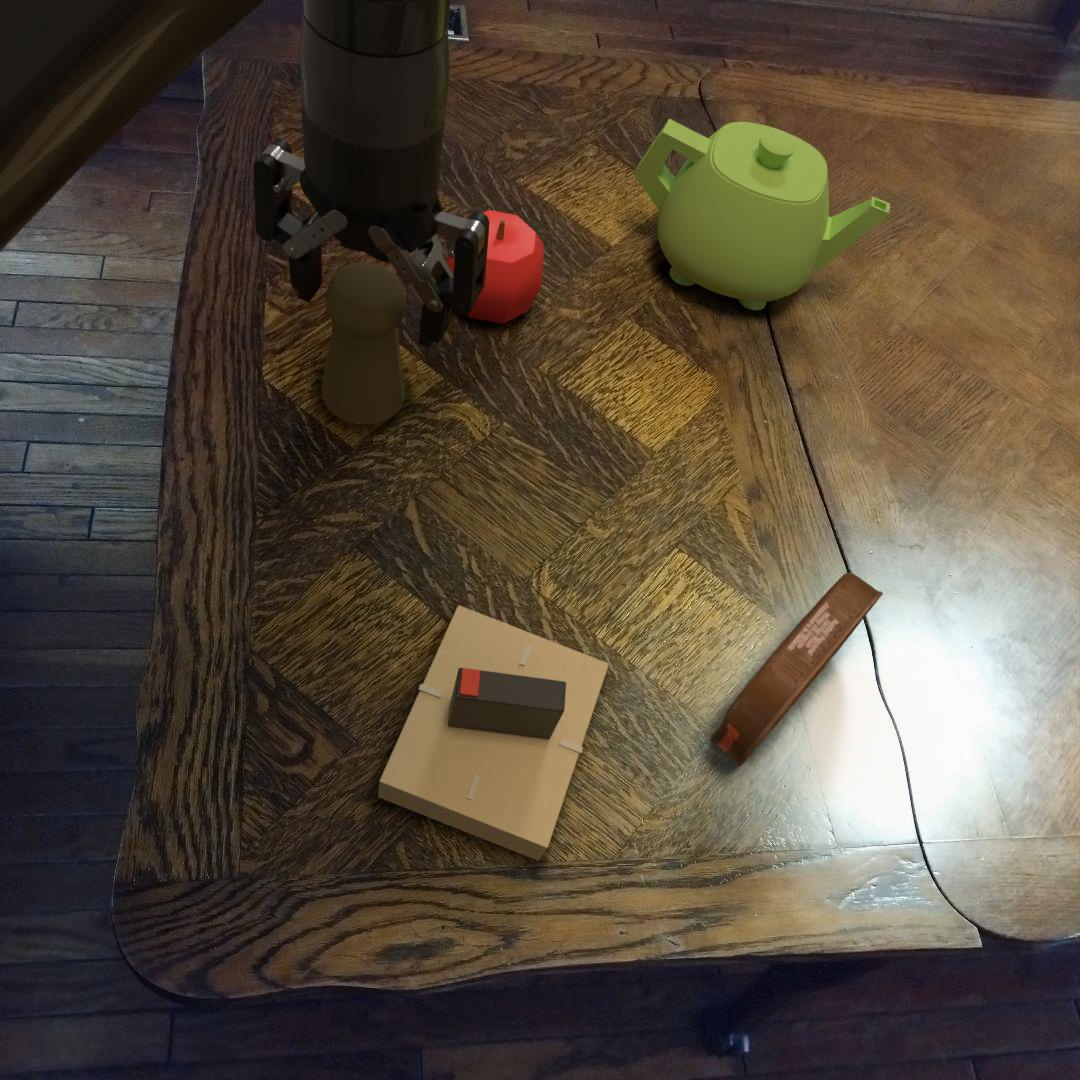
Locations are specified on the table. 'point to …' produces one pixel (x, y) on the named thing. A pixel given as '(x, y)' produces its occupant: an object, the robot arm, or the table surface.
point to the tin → (793, 667)
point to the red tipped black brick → (506, 703)
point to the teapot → (747, 210)
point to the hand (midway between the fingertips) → (369, 315)
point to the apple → (508, 269)
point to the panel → (492, 740)
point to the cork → (364, 344)
